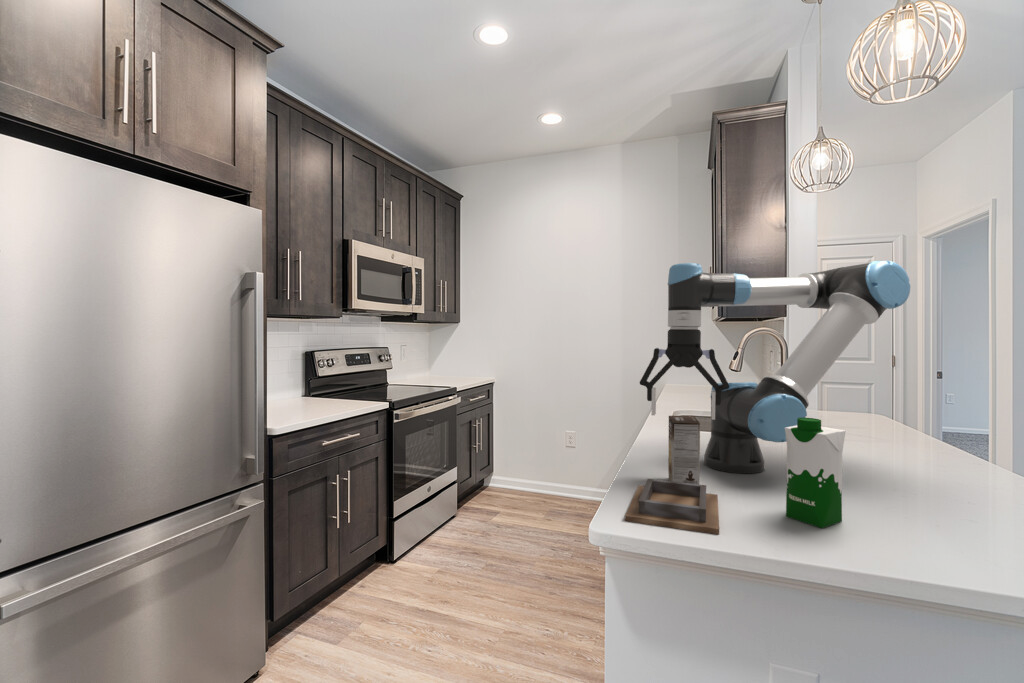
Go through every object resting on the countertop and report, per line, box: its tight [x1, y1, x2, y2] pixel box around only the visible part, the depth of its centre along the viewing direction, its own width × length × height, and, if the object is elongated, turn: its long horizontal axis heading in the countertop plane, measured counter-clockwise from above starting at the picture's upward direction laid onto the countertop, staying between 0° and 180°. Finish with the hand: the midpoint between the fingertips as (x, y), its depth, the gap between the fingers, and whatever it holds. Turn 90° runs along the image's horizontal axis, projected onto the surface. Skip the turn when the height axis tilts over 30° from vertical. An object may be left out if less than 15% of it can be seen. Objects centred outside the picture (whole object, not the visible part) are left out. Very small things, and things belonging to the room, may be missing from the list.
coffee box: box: [667, 415, 701, 484], centre depth 117 cm, size 9×6×16 cm
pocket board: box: [624, 478, 720, 535], centre depth 101 cm, size 17×20×4 cm
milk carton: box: [785, 417, 846, 529], centre depth 96 cm, size 9×9×20 cm
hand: (682, 416), depth 117 cm, fingers open, 13 cm apart
